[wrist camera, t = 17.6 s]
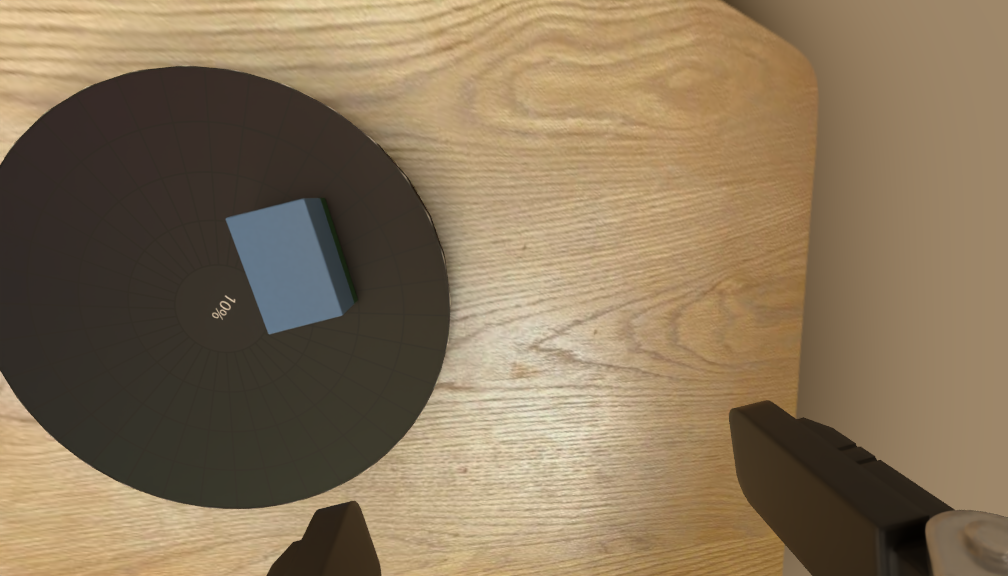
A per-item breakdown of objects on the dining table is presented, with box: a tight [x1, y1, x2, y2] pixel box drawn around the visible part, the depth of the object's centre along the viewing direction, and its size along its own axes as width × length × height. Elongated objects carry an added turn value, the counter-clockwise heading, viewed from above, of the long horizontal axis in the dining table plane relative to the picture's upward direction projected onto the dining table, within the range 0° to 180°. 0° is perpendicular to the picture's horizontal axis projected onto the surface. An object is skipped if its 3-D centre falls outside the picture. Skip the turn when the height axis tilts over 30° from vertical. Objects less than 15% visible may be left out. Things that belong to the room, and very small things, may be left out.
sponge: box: [226, 198, 358, 334], centre depth 29 cm, size 7×4×4 cm, turn 14°
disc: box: [0, 65, 451, 509], centre depth 32 cm, size 30×30×3 cm
